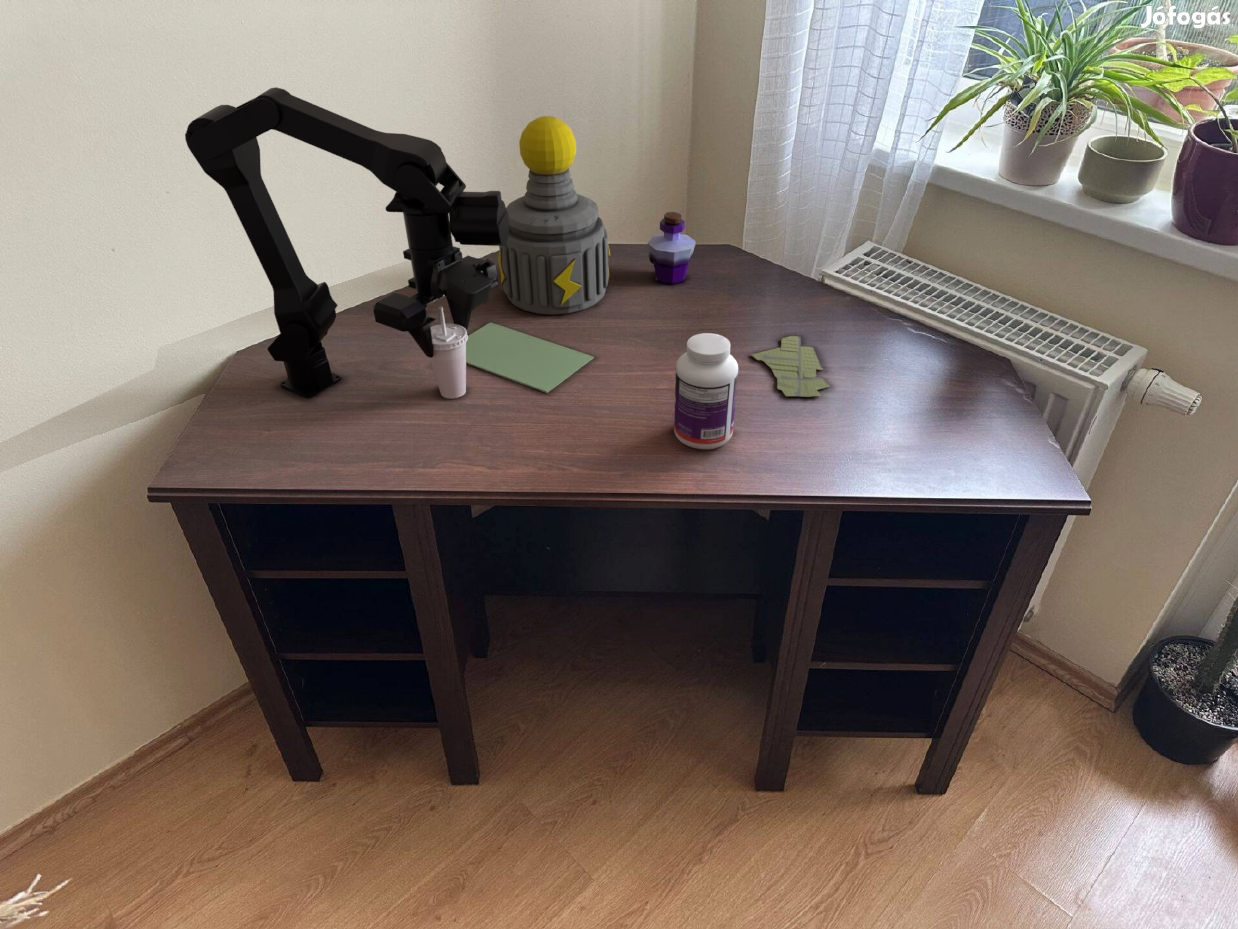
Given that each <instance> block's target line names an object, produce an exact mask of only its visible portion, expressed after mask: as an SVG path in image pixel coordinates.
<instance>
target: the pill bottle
mask: <svg viewBox="0 0 1238 929" xmlns="http://www.w3.org/2000/svg"><path fill="white" fill-rule="evenodd" d="M738 379H739V364H738V362H737V360H736V359H735V357H734V356H733V355H732V354H731V342H730V340H729V339H728V338H727V337H725V336H723V335H721V334H717V333H711V332H703V333H698V334H694V335H692V336H691V337H689V338H688V340H687V342H686V350H685V352H684V353H682V354H681V355H680V357H678V359H677V361H676V365H675V384H674V387H675V388H674V415H673V417H674V418H673V432H674V435H675V437H676V438H677V439H678V440H679V442H681V443H682V444H683V445H685V446H687V447H690V448H692V449H698V450H714V449H717V448H721V447H722V446H724V445H725V444H727V443H728V442H729V441H730V440H731V439H732V436H733V433H734V426H735V414H736V413H735V412H736V401H737V388H738Z"/></svg>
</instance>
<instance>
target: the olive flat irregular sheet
mask: <svg viewBox="0 0 1238 929" xmlns="http://www.w3.org/2000/svg"><path fill="white" fill-rule="evenodd" d="M780 342H781V344H780V347H776V348H773V349H767V350H764V351H759V352H754V353H750V355H751V356H752V357H753V358H754V360H757V361H762V362H764V363H765V364H766V365H767V366H768V367H769V368H770V369H771V371H772V373H773V375H774V377H775V378H776V379H777V385H776V386H777V390H779V391H780V390H781V391H782V393H783V394H784V396H785V397H805V398H811V397H822V396H823V394H822V393H821V392H819V391H818V390H822V389H826V388H830V387H831V386H830V385H829V384H828V383H827V381H825V379H823V378H822V377H821V376H819V377H817V370H821V371H824V368H823V367H822V366H821V363H820V360H819V358H818V356H817V353H816V351H815V348H814V347H813V346H803V345H802V337H801V336H797V335H796V336H795V335H788V336H786V337H782V338H781V341H780Z"/></svg>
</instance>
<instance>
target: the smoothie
mask: <svg viewBox="0 0 1238 929" xmlns="http://www.w3.org/2000/svg"><path fill="white" fill-rule="evenodd" d="M438 313H439V319H440V324H435V325H431V334H432V342H433V357H432V358H430V357H428V358H429V361H430V363H431V367H432V370H433V373H434V376H435V380H436V383H437V386H438V389H439V392H440V395H441V396H442V398H444V399H449V400H450V399H452V400H453V399H459V398H461V397H463V396H464V395H466V393H467V364H466V341H467V340H468V336H469V335H468V330H466V329H465V328H464V327H462V326H460V325H457V324H454V323H446V320H445V314H444V308H443V306H442V305H441V306H438Z"/></svg>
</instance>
